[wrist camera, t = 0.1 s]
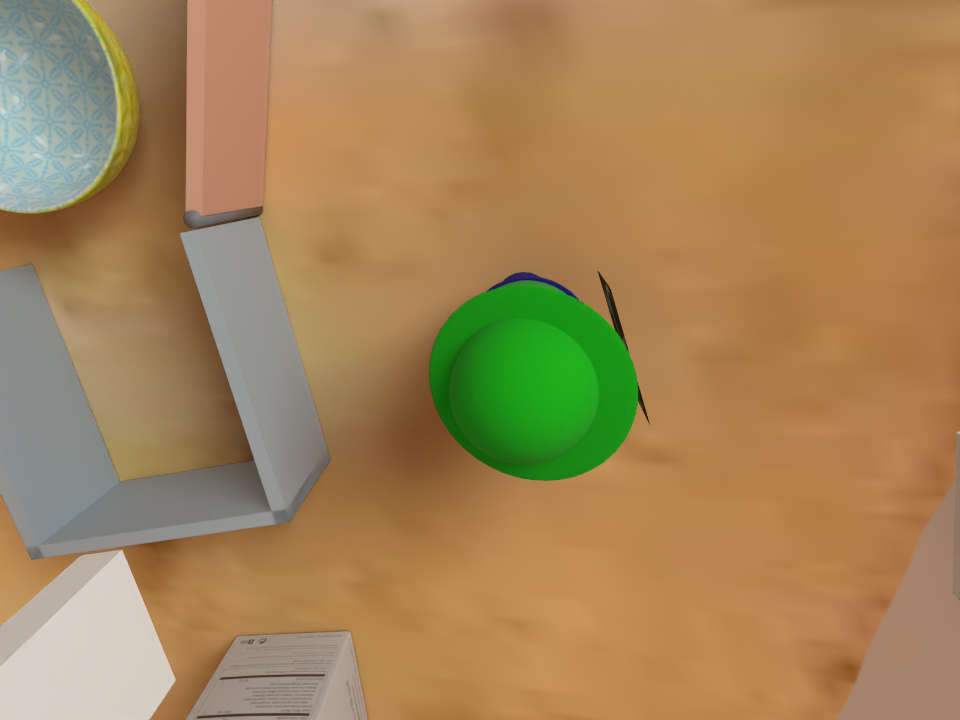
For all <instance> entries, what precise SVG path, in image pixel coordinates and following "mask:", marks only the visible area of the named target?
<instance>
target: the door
mask: <svg viewBox="0 0 960 720" xmlns="http://www.w3.org/2000/svg"><path fill="white" fill-rule="evenodd" d="M271 15H272V0H187V104H186V213H185V214H184V217H183V219H184V222H185V224H186V225H187V226H188V227H190V228H196V227H201V226H206V225H212V224H217V223H222V222H227V221H232V220H237V219H242V218H247V217H252V216H257V215H260V214H261V213H262V211H263V207H262V206H263V193H264V171H265V149H266V127H267V104H268V82H269V60H270V38H271Z"/></svg>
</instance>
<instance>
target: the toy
mask: <svg viewBox="0 0 960 720" xmlns="http://www.w3.org/2000/svg"><path fill="white" fill-rule="evenodd" d="M598 273H599V271H598ZM599 277H600V280H601V284H602V287H603V290H604V294H605V297H606V301H607V304H608V308H609V311H610V314H611V318H612V321H613V325H614V328H615V330H614V329H613V328H612V327H611V325H610V324H609V323H608V322H607V321H606V320H605V319H604V318H603V317H602V316H600V315H599V314H598V313H597V312H596V311H594V310H593V309H592V308H591V307H589V306H588V305H586V304H584V303H583V302H581V301H579V299H578V298H577V297H576V296H575V295H574V294H573V293H572V292H571V291H569V290H568V289H566V288H565V287H563V286H562V285H560V284H558V283H556V282H554V281H552V280H548V279H544V278H541V277H539V276H537V275H535V274H532V273H526V272H520V273H515V274H513V275H511V276H509V277H508V278H506V279H505V280H504V281H503V282H501V283H499V284H497V285H494V286H493V287H492V288H490V289H489V290H488V291H486V292H485V293H482V294H480V295H478V296H476V297H474V298H472V299H471V300H469V301H468V302H466V303H465V304H463V305H462V306H461V307H460V308H458V309H457V310H456V311H455V312H454V313H453V314H452V315H451V316H450V317H449V319H448V320H447V321H446V323H445V324H444V325H443V327H442V328H441V330H440V332H439V334H438V336H437V338H436V340H435V343H434V346H433V349H432V353H431V359H430V370H429V376H430V387H431V392H432V397H433V400H434V403H435V406H436V409H437V411H438V413H439V415H440V417H441V419H442V421H443V422H444V424H445V426H446V427H447V429H448V430H449V432H450V433H451V434H452V436H453V437H454V438H455V439H456V440H457V441H458V443H459V444H460V445H461V446H462V447H463V448H464V449H465V450H467V451H468V452H469V453H470V454H472V455H473V456H474V457H475V458H477V459H478V460H480V461H481V462H483V463H485V464H486V465H488V466H490V467H492V468H494V469H496V470H498V471H500V472H503V473H506V474H509V475H512V476H515V477H519V478H523V479H530V480H544V481H549V480H560V479H565V478H570V477H574V476H577V475H580V474H583V473H585V472H587V471H590V470H592V469H593V468H595V467H597V466H598V465H600V464H602V463H603V462H605V461H606V460H607V459H608V458H609V457H610V456H611V455H612V454H613V453H614V452H616V451H617V449H618V448H619V447H620V445H621V444H622V443H623V442H624V440H625V438H626V437H627V435H628V433H629V431H630V429H631V427H632V424H633V421H634V418H635V415H636V410H637V404H638V402H639V404H640V406H641V408H642V410H643V412H644V414H645V416H646V418H647V420H648V416H647V413H646V409H645V406H644V403H643V399H642V396H641V392H640V389H639V385H638V382H637V377H636V373H635V368H634V365H633V362H632V359H631V357H630V354H629V351H628V347H627V344H626V340H625V337H624V334H623V330H622V327H621V323H620V320H619V316H618V313H617V309H616V306H615V302H614V299H613V296H612V292H611V289H610V287H609V286H608V284H607V283H606V282H605V280H604V279H603V277H602V276H601V274H600V273H599ZM648 422H649V420H648ZM649 424H650V423H649Z"/></svg>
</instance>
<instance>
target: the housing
mask: <svg viewBox="0 0 960 720" xmlns="http://www.w3.org/2000/svg"><path fill="white" fill-rule="evenodd" d="M180 236H181V239H182V242H183V245H184V248H185V251H186V254H187V257H188V260H189V263H190V266H191V270H192V273H193V276H194V279H195V282H196V285H197V288H198V291H199V294H200V297H201V300H202V303H203V306H204V309H205V312H206V315H207V318H208V321H209V324H210V327H211V330H212V333H213V336H214V339H215V342H216V345H217V348H218V351H219V354H220V357H221V360H222V363H223V366H224V369H225V372H226V375H227V378H228V381H229V384H230V387H231V390H232V393H233V396H234V400H235V403H236V406H237V409H238V412H239V415H240V418H241V421H242V424H243V427H244V430H245V433H246V436H247V439H248V442H249V445H250V448H251V451H252V454H253V457H254V461H247V462H241V463H235V464H228V465H222V466H216V467H210V468H203V469H197V470H191V471H184V472H178V473H172V474H165V475H159V476H153V477H147V478H140V479H134V480H128V481H121V482H120V481H119V479H118V476H117V474H116V471H115V469H114V466H113V464H112V461H111V459H110V456H109V454H108V451H107V449H106V446H105V444H104V441H103V439H102V436H101V434H100V431H99V429H98V426H97V424H96V421H95V419H94V416H93V414H92V411H91V409H90V406H89V404H88V402H87V399H86V397H85V394H84V392H83V389H82V387H81V384H80V382H79V379H78V377H77V374H76V372H75V369H74V367H73V364H72V362H71V359H70V357H69V354H68V352H67V349H66V347H65V344H64V342H63V339H62V337H61V334H60V332H59V329H58V327H57V324H56V322H55V319H54V317H53V314H52V312H51V310H50V307H49V305H48V302H47V300H46V297H45V295H44V292H43V290H42V287H41V285H40V282H39V280H38V277H37V275H36V272H35V270H34V267H33V265H32V264H31V265H26V266H21V267H16V268H12V269H7V270H2V271H0V493H1V495H2V497H3V500H4V502H5V504H6V506H7V508H8V510H9V512H10V515H11V517H12V519H13V521H14V523H15V525H16V528H17V530H18V532H19V534H20V536H21V538H22V540H23V543H24V545H25V547H26V549H27V551H28V553H29V556H30V558H31V560H33V559H40V558H47V557H54V556H61V555H68V554H75V553H82V552H89V551H95V550H102V549H109V548H116V547H123V546H130V545H137V544H144V543H151V542H157V541H164V540H171V539H178V538H185V537H192V536H199V535H206V534H213V533H219V532H226V531H233V530H240V529H247V528H254V527H261V526H268V525H275V524H282V523H288V522H290V521H291V520H292V518H293V517H294V515H295V513H296V512H297V510H298V509H299V507H300V506H301V504H302V503H303V501H304V500H305V498H306V497H307V495H308V493H309V492H310V490H311V489H312V487H313V486H314V484H315V483H316V481H317V480H318V478H319V477H320V475H321V474H322V472H323V470H324V469H325V467H326V466H327V464H328V463H329V461H330V457H329V453H328V450H327V447H326V443H325V440H324V436H323V433H322V429H321V426H320V423H319V419H318V416H317V412H316V409H315V406H314V402H313V399H312V395H311V392H310V389H309V385H308V382H307V378H306V375H305V371H304V368H303V365H302V361H301V358H300V354H299V351H298V348H297V344H296V341H295V337H294V334H293V331H292V327H291V324H290V320H289V317H288V313H287V310H286V307H285V303H284V300H283V296H282V293H281V290H280V286H279V283H278V279H277V276H276V272H275V269H274V266H273V262H272V259H271V255H270V252H269V249H268V245H267V242H266V238H265V235H264V232H263V228H262V225H261V221H260V218H259V217H256V218H252V219H247V220H242V221H237V222H232V223H227V224H222V225H217V226H212V227H207V228H203V229H198V230H193V231H188V232H183V233H180Z"/></svg>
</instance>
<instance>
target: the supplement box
mask: <svg viewBox="0 0 960 720" xmlns="http://www.w3.org/2000/svg"><path fill="white" fill-rule="evenodd" d="M185 720H367V714H366V709H365V704H364V699H363V693H362V688H361V683H360V678H359V673H358V667H357V662H356V657H355V652H354V647H353V642H352V637H351V633H350V632H349V631H339V632H317V633H292V634H271V635H251V636H237V637H236V638H235V640H234V641H233V643H232V644H231V646H230V648H229V649H228V651H227V653H226V654H225V656H224V657H223V659H222V661H221V662H220V664H219V666H218V667H217V669H216V670H215V672H214V674H213V675H212V677H211V678H210V680H209V682H208V683H207V685H206V687H205V688H204V690H203V692H202V693H201V695H200V696H199V698H198V700H197V701H196V703H195V705H194V706H193V708H192V709H191V711H190V713H189V714H188V716H187V718H186V719H185Z"/></svg>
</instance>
